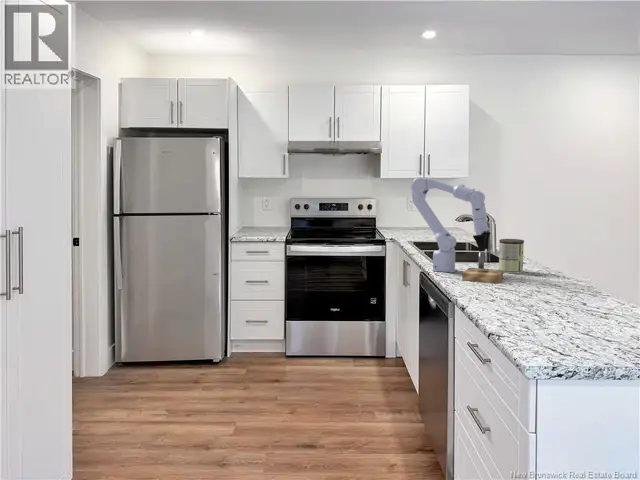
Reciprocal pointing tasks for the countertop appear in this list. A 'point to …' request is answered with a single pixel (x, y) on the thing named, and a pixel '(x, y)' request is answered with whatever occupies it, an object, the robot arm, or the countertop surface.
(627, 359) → the countertop surface
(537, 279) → the countertop surface
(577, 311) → the countertop surface
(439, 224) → the robot arm
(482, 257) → the pin
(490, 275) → the tan slotted block
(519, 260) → the coffee can
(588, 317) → the countertop surface
